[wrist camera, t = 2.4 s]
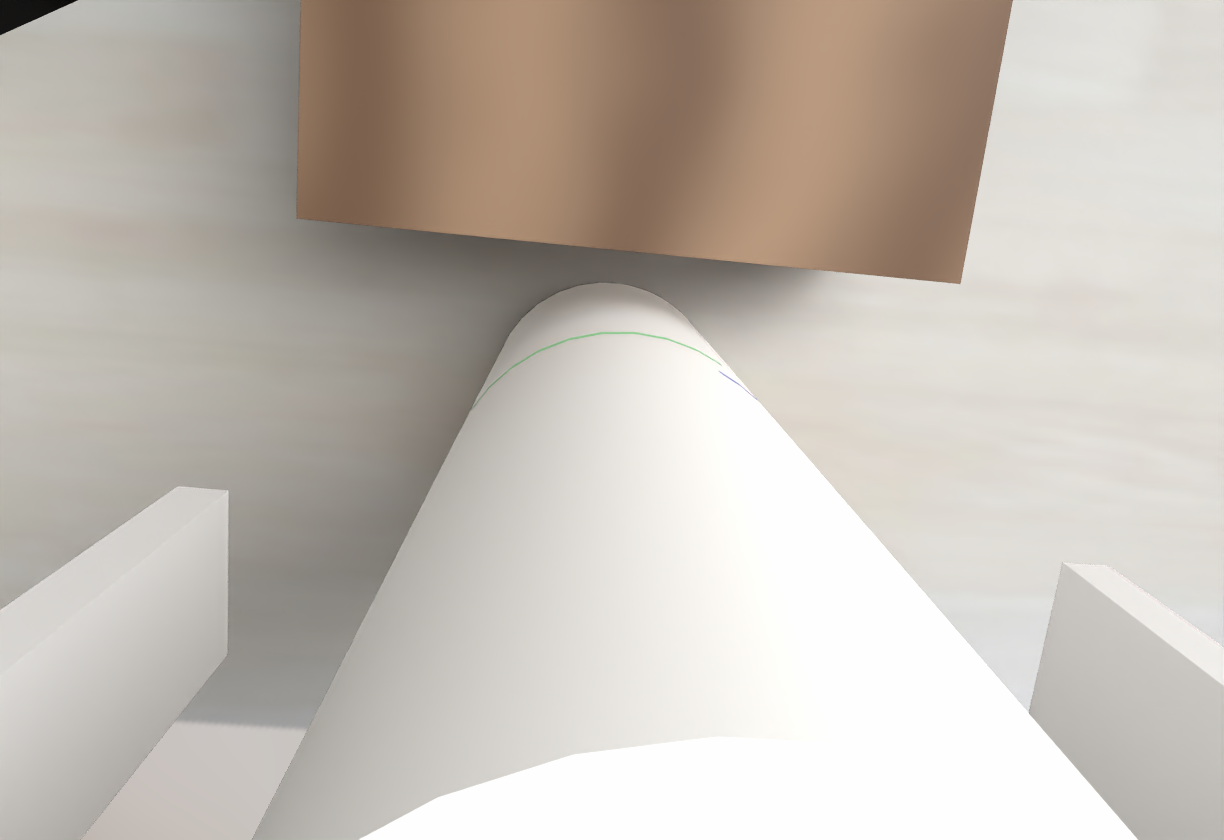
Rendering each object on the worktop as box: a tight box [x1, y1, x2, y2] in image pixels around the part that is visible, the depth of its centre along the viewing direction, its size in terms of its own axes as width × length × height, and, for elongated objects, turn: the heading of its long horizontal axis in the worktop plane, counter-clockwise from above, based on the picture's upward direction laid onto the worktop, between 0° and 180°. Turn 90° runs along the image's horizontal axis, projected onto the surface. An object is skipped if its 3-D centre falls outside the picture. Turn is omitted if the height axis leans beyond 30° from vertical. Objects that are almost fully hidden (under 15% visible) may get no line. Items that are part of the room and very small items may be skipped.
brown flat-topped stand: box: [297, 0, 1013, 284], centre depth 23 cm, size 15×12×8 cm
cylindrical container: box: [252, 282, 1138, 840], centre depth 18 cm, size 7×7×25 cm
